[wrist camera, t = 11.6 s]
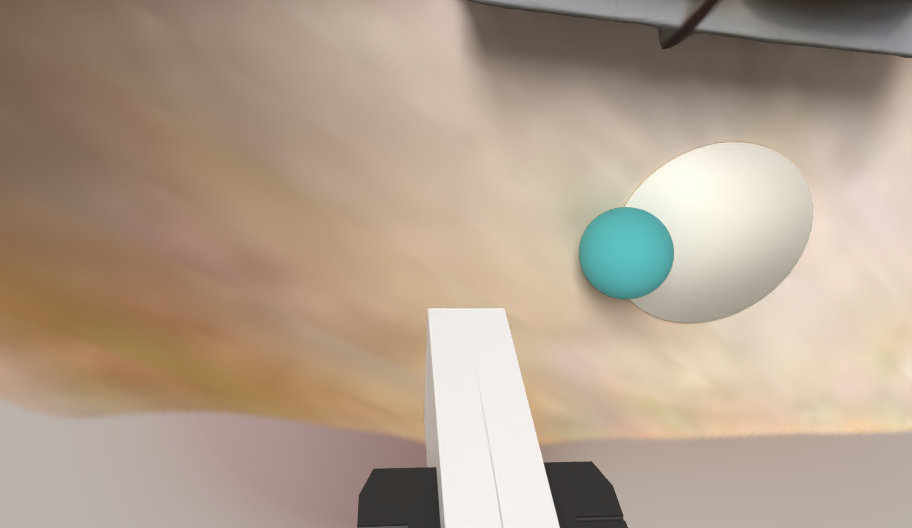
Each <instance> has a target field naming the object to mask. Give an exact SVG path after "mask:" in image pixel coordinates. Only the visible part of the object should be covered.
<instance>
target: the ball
mask: <svg viewBox="0 0 912 528" xmlns="http://www.w3.org/2000/svg"><path fill="white" fill-rule="evenodd" d="M579 260H580V264H581V268H582V271H583V273H584V275H585V276H586V278H587V280H588V281H589V282H590V283H591V284H592V285H593V286H594V287H595V288H596V289H597V290H599V291H600V292H602V293H603V294H606V295H608V296H610V297H613V298H618V299H636V298H640V297H643V296H645V295H648V294H649V293H651V292H653V291H654V290H656V289H657V288H658V287H659V286H660V285H661V284H662V283H663V282H664V281H665V280H666V278H667V277H668V275H669V273H670V271H671V268H672V265H673V260H674V246H673V241H672V238H671V236H670V233H669V231H668V230H667V228H666V227H665V225H664V224H663V223H662V222H661V221H660V220H659V219H658V218H657V217H655V216H654V215H653V214H651V213H649V212H647V211H645V210H642V209H638V208H633V207H621V208H615V209H612V210H609V211H606V212H604V213H603V214H601V215H599V216H598V217H597V218H595V219H594V220H593V221H592V222H591V223H590V224H589V226H588V227H587V229H586V230H585V232H584V234H583V236H582V239H581V242H580V247H579Z"/></svg>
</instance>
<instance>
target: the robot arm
mask: <svg viewBox="0 0 912 528" xmlns="http://www.w3.org/2000/svg"><path fill="white" fill-rule="evenodd" d="M424 420H425V438H426V453H427V454H426V455H427V468H389V469H373V471H372V473H371V475H370V476H369V478H368V480H367V482H366V484H365V485H364V487H363V489H362V491H361V493H360V495H359V505H358V524H357V528H628V527H627V524H626V522H625V521H624V520H623V513H622V510H621V508H620V505H619V502H618V499H617V496H616V493H615V491H614V488H613V486H612V485H611V483H610V482H609V481H608V480H607V479H606V478H605V476H604V475H603V474H602V473H601V472H600V471H599V469H598V468H597V467H596V466H595V465H594V464H593V463H592V462H551V463H543V459H542V455H541V451H540V447H539V443H538V439H537V435H536V431H535V427H534V423H533V420H532V416H531V412H530V408H529V404H528V400H527V396H526V392H525V388H524V384H523V380H522V376H521V372H520V368H519V364H518V360H517V356H516V352H515V348H514V344H513V340H512V336H511V332H510V328H509V325H508V321H507V317H506V313H505V309H504V308H428V319H427V348H426V377H425V406H424Z"/></svg>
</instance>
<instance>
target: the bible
mask: <svg viewBox="0 0 912 528" xmlns="http://www.w3.org/2000/svg"><path fill="white" fill-rule="evenodd" d="M468 1H471V2H476V3H480V4H484V5H492V6H498V7H503V8H508V9H518V10H526V11H533V12H544V13H553V14H561V15H568V16H575V17H583V18H591V19H597V20H606V21H616V22H623V23H636V24H643V25H648V26H652V27H656V28H658V29H659V39H660V44H661V46H662V49H667V48H670V47H672V46H674V45H676V44H678V43H680V42H681V41H683V40H684V39H686V38H687V37H689V36H691V35H694V34H698V33H705V34H713V35H720V36H727V37H735V38H742V39H749V40H755V41H761V42H769V43H780V44H790V45H799V46H809V47H819V48H828V49H837V50H846V51H856V52H866V53H875V54H885V55H896V56H900V57H906V58H912V0H468Z"/></svg>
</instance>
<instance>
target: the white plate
mask: <svg viewBox="0 0 912 528" xmlns="http://www.w3.org/2000/svg"><path fill="white" fill-rule="evenodd" d="M624 207H633V208H638V209H642V210H645V211H647V212H649V213H651V214H653V215H654V216H655V217H657V218H658V219H659V220H660V221H661V222H662V223H663V224H664V225H665V227H666V228H667V230H668V231H669V233H670V236H671V238H672V241H673V246H674V260H673V265H672V268H671V271H670V273H669V275H668V277H667V278H666V280H665V281H664V282H663V283H662V284H661V285H660V286H659V287H658V288H657V289H656V290H654V291H653V292H651V293H649V294H648V295H645V296H643V297H640V298H636V299H630V300H631V301H632V302H633V303H634V304H635V305H636V306H637V307H639V308H640V309H642V310H643V311H645V312H646V313H649V314H651V315H653V316H655V317H658V318H661V319H664V320H668V321H674V322H684V323H694V322H705V321H711V320H716V319H719V318H723V317H727V316H729V315H732V314H734V313H737V312H739V311H741V310H743V309H745V308H747V307H749V306H751V305H753V304H754V303H756V302H758V301H759V300H761V299H762V298H763V297H765V296H766V295H767V294H769V293H770V292H771V291H772V290H774V289H775V288H776V287H777V286H778V285H779V284H780V283H781V282H782V281H783V280H784V279H785V278H786V276H787V275H788V274H789V273H790V272H791V270H792V269H793V268H794V266H795V265H796V263H797V262H798V260H799V258H800V257H801V255H802V253H803V251H804V249H805V246H806V244H807V242H808V239H809V235H810V232H811V228H812V220H813V203H812V197H811V193H810V190H809V187H808V184H807V182H806V180H805V179H804V177H803V175H802V173H801V172H800V171H799V170H798V168H797V167H796V166H795V165H794V164H793V163H792V162H791V161H789V160H788V159H787V158H786V157H785V156H783V155H781V154H780V153H778V152H776V151H775V150H772V149H770V148H767V147H765V146H762V145H758V144H753V143H747V142H721V143H715V144H709V145H705V146H702V147H699V148H695V149H693V150H690V151H688V152H685V153H683V154H681V155H679V156H677V157H675V158H674V159H672V160H670V161H668V162H667V163H665V164H664V165H662V166H661V167H660V168H658V169H657V170H655V171H654V172H653V173H652V174H651V175H650V176H649V177H647V178H646V179H645V180H644V181H643V182H642V183H641V185H640V186H639V187H638V188H637V189H636V190H635V191H634V193H633V194H632V195H631V197H630V198H629V200H628V201H627V202H626V204H625V206H624Z"/></svg>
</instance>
